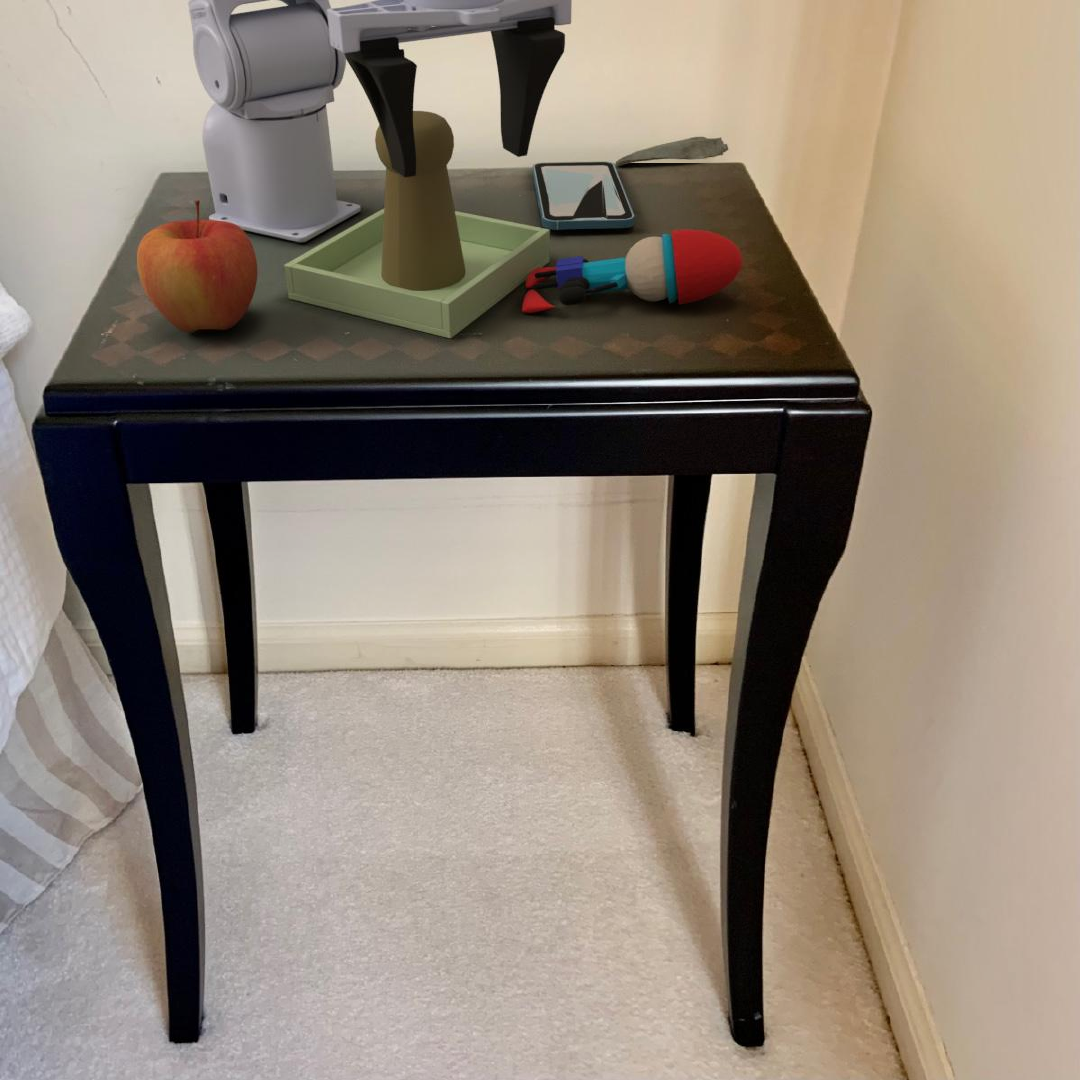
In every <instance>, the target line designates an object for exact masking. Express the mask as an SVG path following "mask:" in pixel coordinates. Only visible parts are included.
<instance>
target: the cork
mask: <svg viewBox="0 0 1080 1080" xmlns="http://www.w3.org/2000/svg"><path fill="white" fill-rule="evenodd" d="M413 129H414V139H415V150H416V176H411V177H403V176H402V175H401V174H399V173H398V172H396V171H395V170H394V169H392V165H391V161H390V157H389V153H388V149H387V146H386V142H385V139H384V136H383V133H382V130H381V128H380V125H379V124H378V127H377V129H376V131H375V138H374V143H375V149H376V152H377V155H378V156H377V157H378V158H379V160H380V162H381V163H382V164H383V166H384V167H385V181H384V182H385V183H384V204H383V206H384V207H383V209H384V225H383V247H382V270H381V276H382V278H383V280H384V281H385V282H386V283H388V284H389V285H391V286H394V287H399V288H403V289H407V290H412V291H428V290H436V289H441V288H445V287H449V286H451V285H453V284H456V283H458V282H459V281H460V280H461V279H462V278H463V277H464V276H465V272H466V270H465V264H464V259H463V253H462V248H461V242H460V237H459V231H458V226H457V220H456V214H455V211H456V210H455V203H454V199H453V193H452V188H451V182H450V176H449V170H448V164H449V162H450V161H451V159H452V156H453V154H454V153H453V152H454V147H455V137H454V132H453V130H452V127H451V126H450V124H449V122H448V121H447V119H446V117H443V116H441V115H440V114H438V113H435V112H433V111H425V110H413Z"/></svg>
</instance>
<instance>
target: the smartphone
mask: <svg viewBox="0 0 1080 1080" xmlns="http://www.w3.org/2000/svg"><path fill="white" fill-rule="evenodd" d="M532 178H533V183H534V187H535V189H534V190H535V193H536V199H537V206H538V210H539V216H540V221H541V225H542V227H543V228H544V229H549V230H552V231H558V232H559V231H565V230H596V229H597V230H599V229H600V230H601V229H603V230H604V229H627V228H631V227H633V226H634V225H635V220H636V219H635V217H636V216H635V215H636V214H635V213H634V210H633V207H632V205H631V203H630V200H629V197H628V195H627V192H626V189H625V186H624V184H623V182H622V180H621V177H620V174H619V171H618V169H617V166H616V163H613V162H611V161H603V160H602V161H556V162H555V161H554V162H551V161H550V162H537V163H533V165H532Z"/></svg>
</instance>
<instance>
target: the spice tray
mask: <svg viewBox="0 0 1080 1080" xmlns="http://www.w3.org/2000/svg"><path fill="white" fill-rule="evenodd" d="M455 214H456V220H457V226H458V231H459V237H460V242H461V248H462V253H463V259H464V264H465V270H466V272H465V276H464V277H463V278H462V279H461V280H460V281H459V282H458V283H456V284H453V285H451V286H449V287H445V288H441V289H436V290H428V291H412V290H407V289H403V288H399V287H394V286H391V285H389V284H388V283H386V282H385V281H384V280H383V278H382V276H381V270H382V247H383V225H384V208H382V209H380V210H378V211H377V212H374V213H373V214H371V215H369V216H368V217H366V218H364V219H363V220H361V221H359V222H357V223H355V224H354V225H352V226H350V227H348V228H347V229H345V230H343V231H341V232H340V233H338V234H336V235H335V236H332V237H331V238H329V239H327V240H325V241H324V242H321V243H320V244H319V245H316V246H315V247H312V248H311V249H310V250H308V251H306V252H304V253H303V254H301V255H299V256H298V257H296V258H294V259H292V260H290V261H288V262H287V263H285V264H284V265H283V268H284V276H285V280H286V281H285V282H286V289H287V296H288V299H289V300H293V301H297V302H301V303H305V304H310V305H313V306H317V307H321V308H326V309H329V310H333V311H337V312H341V313H345V314H350V315H353V316H358V317H361V318H366V319H370V320H373V321H378V322H382V323H386V324H390V325H394V326H398V327H403V328H405V329H409V330H414V331H418V332H422V333H426V334H431V335H434V336H438V337H443V338H447V339H452V338H454V337H455V336H456V335H458V334H459V333H460V332H462V330H464V329H465V328H467V327H468V326H469V325H470V324H472V323H473V322H474V321H476V320H477V319H478V318H479V317H481V316H482V315H483V314H485V313H486V312H487V311H488V310H490V309H491V308H492V307H494V306H495V305H496V304H498V302H500V301H501V300H503V299H504V298H505V297H507V295H509V294H510V293H511V292H513V291H514V290H515V289H517V288H518V287H519V286H521V285H522V284H523V283H524V282H526V279H527V277H528V275H529V273H530V272H531V271H532V270H534V269H537V268H544V267H546V265H547V264H549V263H550V261H551V259H550V258H551V257H550V255H551V254H550V253H551V251H550V250H551V247H550V246H551V229H548V228H545V227H543V228H542V227H538V226H534V225H529V224H524V223H518V222H513V221H509V220H502V219H498V218H493V217H488V216H482V215H477V214H472V213H469V212H468V213H467V212H462V211H457V210H455Z"/></svg>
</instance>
